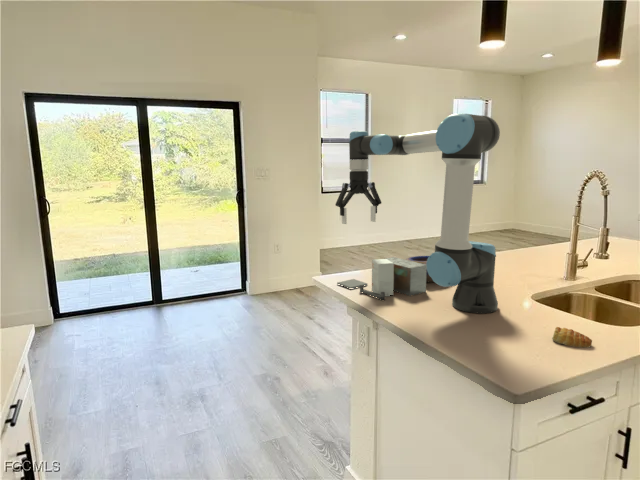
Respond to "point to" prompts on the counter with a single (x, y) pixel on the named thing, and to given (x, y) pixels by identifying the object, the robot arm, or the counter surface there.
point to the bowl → (423, 261)
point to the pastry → (571, 338)
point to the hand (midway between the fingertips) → (358, 222)
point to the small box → (382, 276)
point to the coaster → (352, 283)
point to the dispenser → (405, 278)
